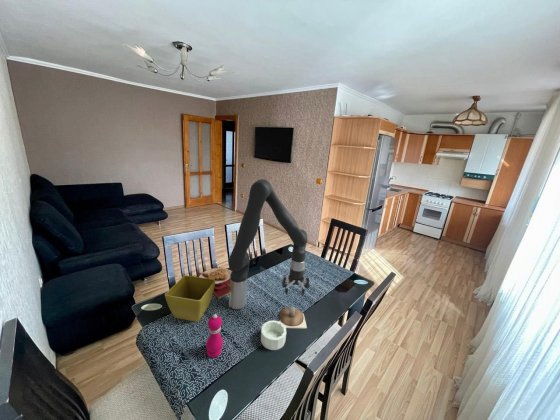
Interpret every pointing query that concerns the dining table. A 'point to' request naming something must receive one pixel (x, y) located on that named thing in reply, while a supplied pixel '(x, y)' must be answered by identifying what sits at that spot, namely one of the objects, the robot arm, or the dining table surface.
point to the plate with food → (217, 276)
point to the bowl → (273, 335)
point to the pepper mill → (214, 337)
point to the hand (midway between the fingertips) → (294, 293)
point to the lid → (291, 316)
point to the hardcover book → (222, 292)
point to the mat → (302, 325)
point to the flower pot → (190, 297)
